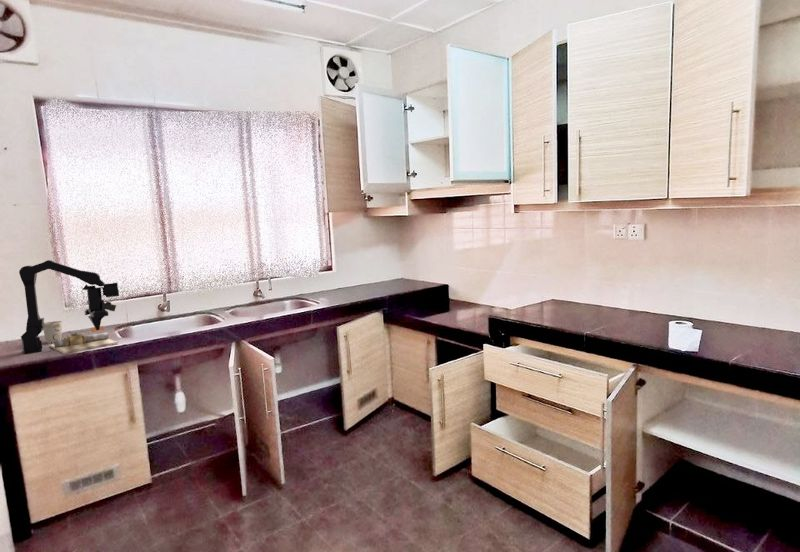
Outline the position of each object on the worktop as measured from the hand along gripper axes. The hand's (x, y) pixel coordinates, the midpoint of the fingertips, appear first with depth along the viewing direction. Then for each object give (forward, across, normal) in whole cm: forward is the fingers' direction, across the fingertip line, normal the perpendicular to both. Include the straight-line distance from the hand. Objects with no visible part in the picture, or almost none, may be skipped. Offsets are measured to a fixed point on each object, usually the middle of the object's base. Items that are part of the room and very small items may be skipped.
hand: (97, 330), depth 236 cm
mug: (+6, +28, +15) cm, 32 cm away
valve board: (+7, +1, +6) cm, 9 cm away
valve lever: (+1, +2, +4) cm, 5 cm away
